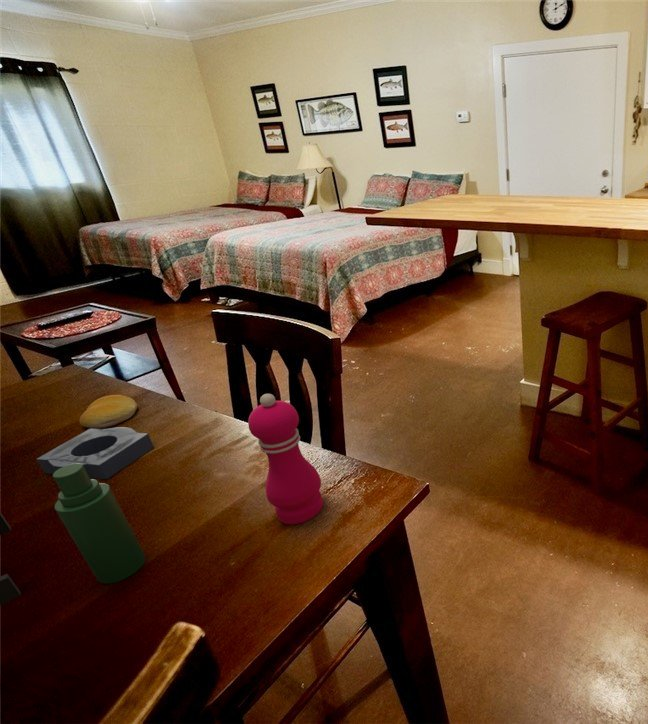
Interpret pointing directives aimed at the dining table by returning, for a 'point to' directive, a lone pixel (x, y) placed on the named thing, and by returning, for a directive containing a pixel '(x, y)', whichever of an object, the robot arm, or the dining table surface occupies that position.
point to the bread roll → (108, 411)
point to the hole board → (98, 451)
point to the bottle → (97, 525)
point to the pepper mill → (285, 462)
